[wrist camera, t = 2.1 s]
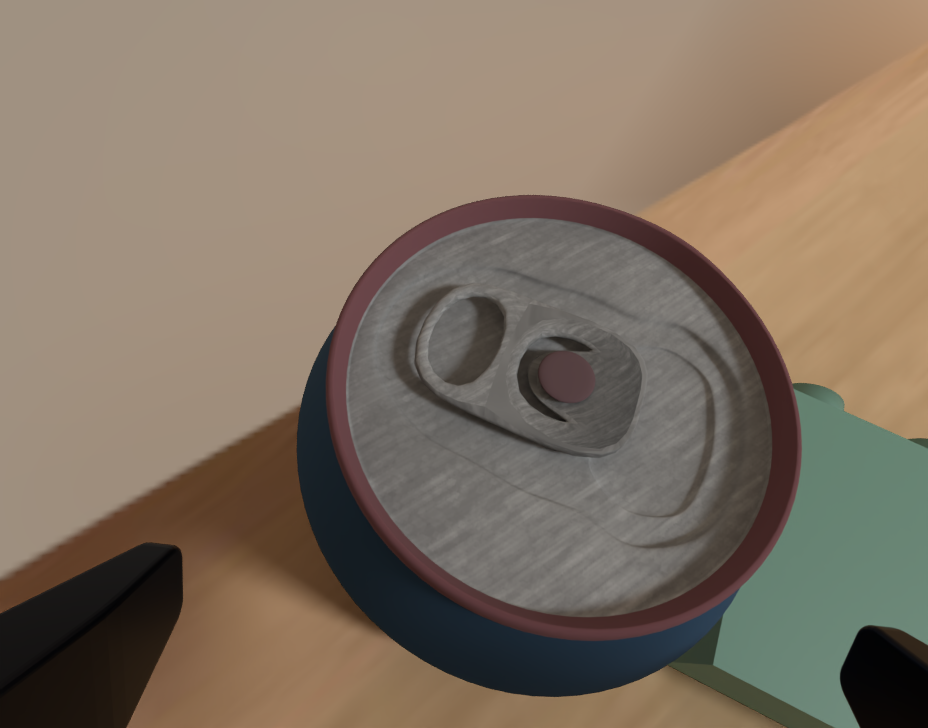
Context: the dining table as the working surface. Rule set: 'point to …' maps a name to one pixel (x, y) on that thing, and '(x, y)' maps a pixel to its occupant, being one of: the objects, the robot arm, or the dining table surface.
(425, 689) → the dining table surface
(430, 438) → the soda can
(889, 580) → the base brick
